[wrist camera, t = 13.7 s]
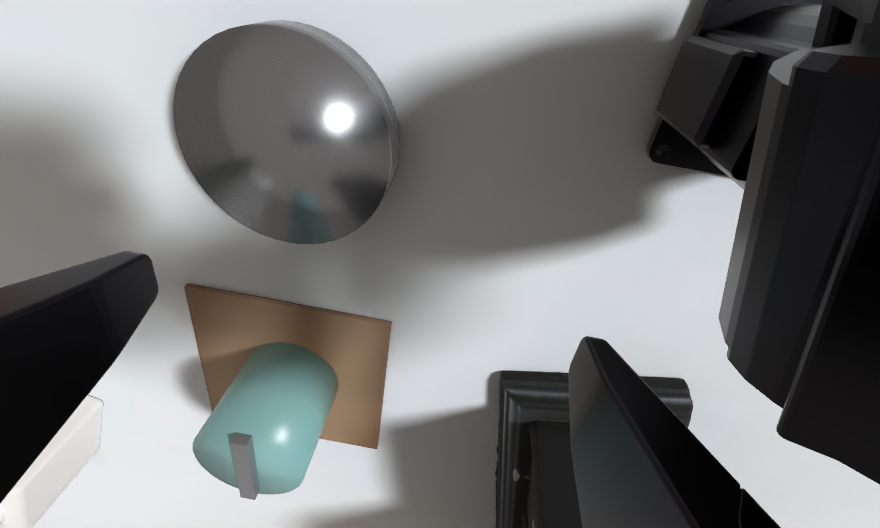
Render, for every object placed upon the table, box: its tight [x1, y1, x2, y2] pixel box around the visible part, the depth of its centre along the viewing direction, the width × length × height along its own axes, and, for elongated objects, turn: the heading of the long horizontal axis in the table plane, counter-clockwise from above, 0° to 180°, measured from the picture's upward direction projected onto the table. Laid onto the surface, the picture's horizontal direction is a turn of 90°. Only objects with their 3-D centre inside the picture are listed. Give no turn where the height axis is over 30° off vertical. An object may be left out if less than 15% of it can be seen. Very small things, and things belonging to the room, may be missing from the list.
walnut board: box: [184, 284, 391, 449], centre depth 28 cm, size 12×12×1 cm
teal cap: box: [193, 342, 339, 500], centre depth 25 cm, size 6×6×7 cm
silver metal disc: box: [174, 20, 400, 244], centre depth 19 cm, size 9×9×2 cm
